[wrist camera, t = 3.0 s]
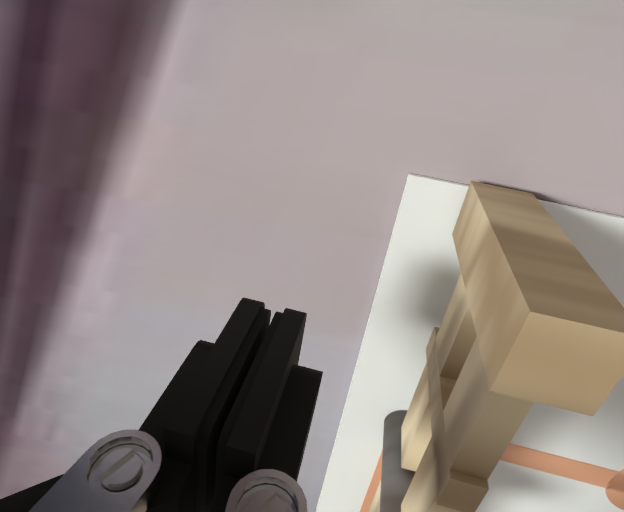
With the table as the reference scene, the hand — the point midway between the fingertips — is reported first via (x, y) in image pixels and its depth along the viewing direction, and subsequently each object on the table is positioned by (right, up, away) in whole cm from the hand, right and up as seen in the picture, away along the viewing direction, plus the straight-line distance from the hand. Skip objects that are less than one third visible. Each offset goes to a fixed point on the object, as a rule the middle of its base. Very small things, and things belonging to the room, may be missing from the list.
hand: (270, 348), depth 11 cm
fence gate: (+7, 0, +6) cm, 9 cm away
